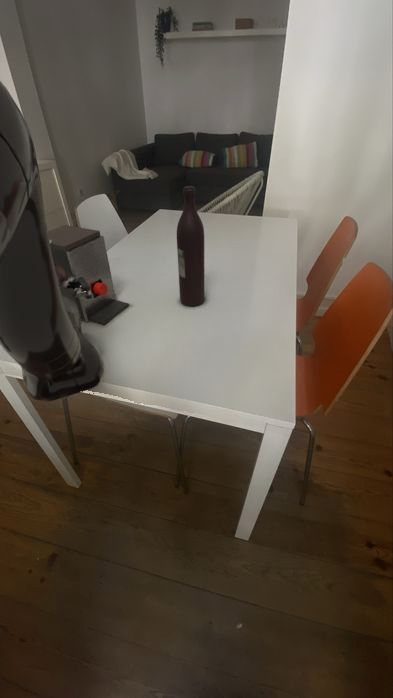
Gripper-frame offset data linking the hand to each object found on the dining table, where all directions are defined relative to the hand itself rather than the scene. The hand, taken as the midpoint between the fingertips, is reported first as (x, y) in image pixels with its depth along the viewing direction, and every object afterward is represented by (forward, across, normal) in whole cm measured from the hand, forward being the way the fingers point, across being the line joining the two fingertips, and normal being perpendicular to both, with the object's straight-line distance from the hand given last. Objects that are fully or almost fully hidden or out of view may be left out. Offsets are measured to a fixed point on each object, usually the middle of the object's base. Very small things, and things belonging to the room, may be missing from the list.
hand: (52, 279), depth 69 cm
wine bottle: (+5, -34, +16) cm, 38 cm away
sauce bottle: (-2, 0, +11) cm, 11 cm away
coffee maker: (+13, -7, +16) cm, 21 cm away
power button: (+9, -10, +10) cm, 17 cm away
